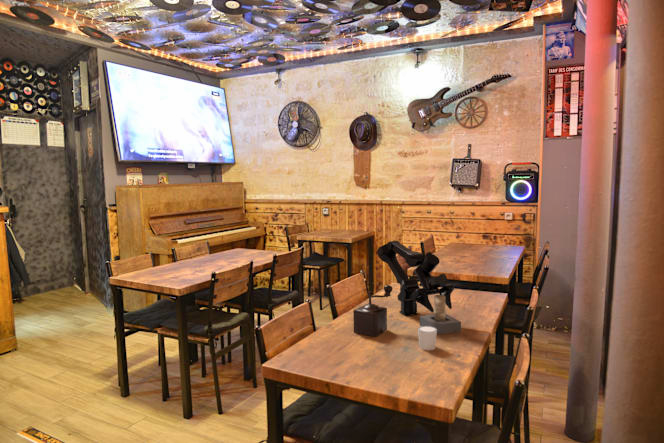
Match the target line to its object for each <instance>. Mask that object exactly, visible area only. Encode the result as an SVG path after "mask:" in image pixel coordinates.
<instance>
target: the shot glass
mask: <svg viewBox="0 0 664 443" xmlns="http://www.w3.org/2000/svg"><path fill="white" fill-rule="evenodd" d="M417 332H418V333H417V334H418V344H419V345H418V347H419V348H420V350H424V351H433V350H435V349H436V343H437V335H436V334H437V329H436V328H434V327H431V326H419V327H418V328H417Z"/></svg>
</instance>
